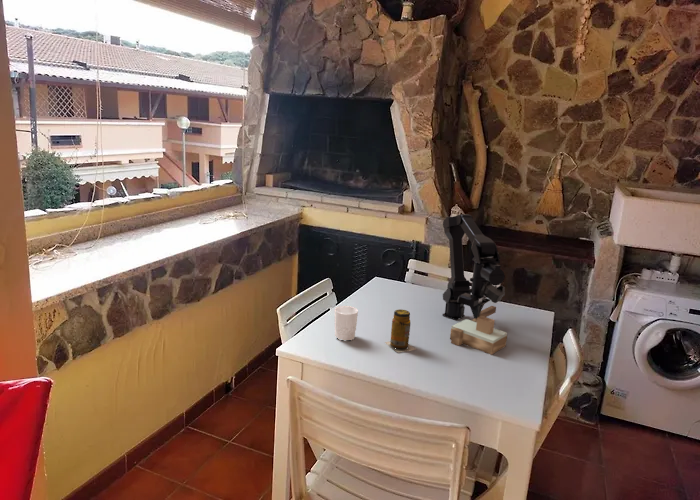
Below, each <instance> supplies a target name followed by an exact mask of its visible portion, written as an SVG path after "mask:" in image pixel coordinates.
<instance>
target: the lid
mask: <svg viewBox="0 0 700 500" xmlns="http://www.w3.org/2000/svg"><path fill="white" fill-rule="evenodd" d="M495 322H496V320H495V319H493V318H489V317H484V316H480V317H478V318H477V322H474V321H472V319H468V318H465V319H463V320H461V321H459V322H457V323H455V324H453V325H451V328H452V329H454V328H458V329H461V330H464V331H463V333H465V334H468V335H471V336H473V337H476V338H479V339H482V340H484V341H487V342H490V343H495V342H496V341H498V340H500V339H502V338H503V337H505V336H507V337H508V332H506V331H504V330H500V329H497V328H495Z"/></svg>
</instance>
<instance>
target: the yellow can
mask: <svg viewBox="0 0 700 500" xmlns="http://www.w3.org/2000/svg"><path fill="white" fill-rule="evenodd" d="M410 317H411V313H410V311H408V310H406V309H402V308H401V309H396V310H394V312H393V318H392V321H391V331H390V332H391V333H390V341H385V342H384V343H385V344H386V345H387V346H388V347H389V348H391V349H392V350H393V351H395V352H396V353H405V352H406V353H407V352H410V351H416V350H417V348H415V347H413V346H412V345H411V344H409V340H410V333H411V319H410ZM395 348H396V349H395Z"/></svg>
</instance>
